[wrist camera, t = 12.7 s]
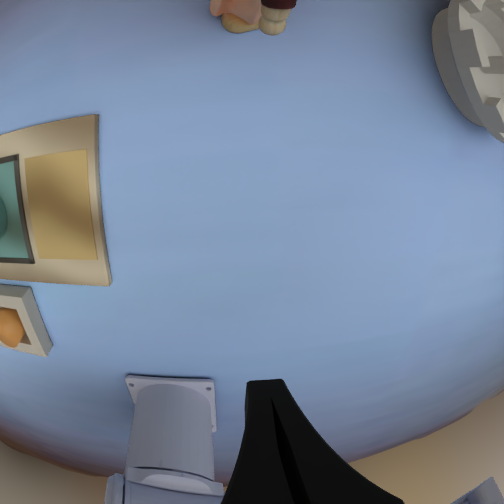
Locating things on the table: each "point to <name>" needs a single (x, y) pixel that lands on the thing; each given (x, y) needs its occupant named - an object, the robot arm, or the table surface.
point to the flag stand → (473, 59)
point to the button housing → (26, 319)
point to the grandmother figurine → (253, 14)
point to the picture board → (53, 204)
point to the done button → (10, 327)
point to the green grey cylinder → (2, 219)
